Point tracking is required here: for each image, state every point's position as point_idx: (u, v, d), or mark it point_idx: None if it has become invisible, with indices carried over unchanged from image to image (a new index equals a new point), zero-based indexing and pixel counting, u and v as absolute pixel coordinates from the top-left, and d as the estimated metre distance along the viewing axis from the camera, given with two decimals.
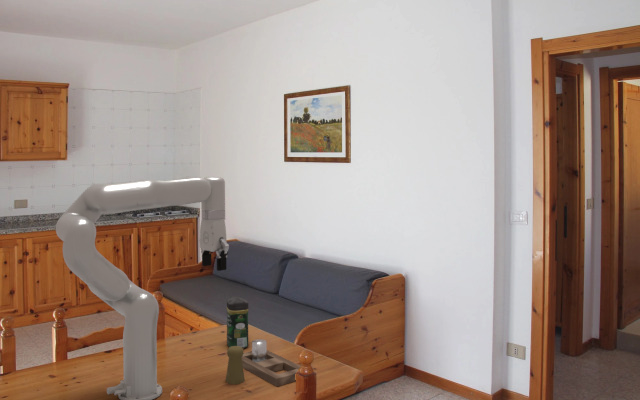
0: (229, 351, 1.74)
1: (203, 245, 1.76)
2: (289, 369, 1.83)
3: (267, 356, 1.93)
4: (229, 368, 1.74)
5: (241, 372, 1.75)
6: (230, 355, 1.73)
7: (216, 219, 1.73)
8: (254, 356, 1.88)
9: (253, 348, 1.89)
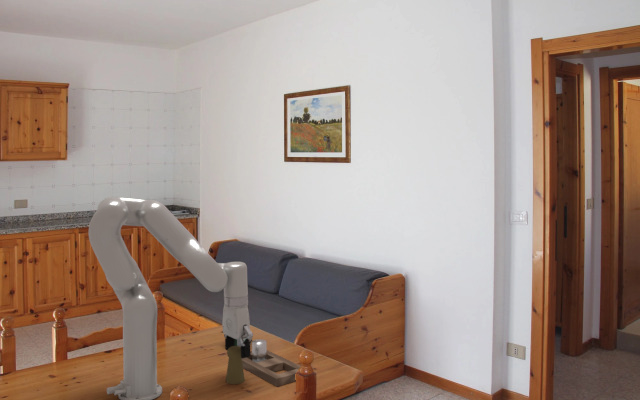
0: (229, 351, 1.74)
1: (226, 331, 1.75)
2: (289, 369, 1.83)
3: (267, 356, 1.93)
4: (229, 368, 1.74)
5: (241, 372, 1.75)
6: (230, 355, 1.73)
7: (239, 306, 1.71)
8: (254, 356, 1.88)
9: (253, 348, 1.89)
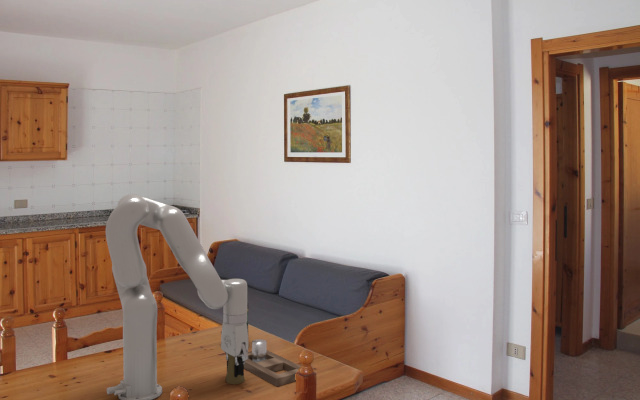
0: None
1: (224, 348, 1.75)
2: (289, 369, 1.83)
3: (267, 356, 1.93)
4: (229, 368, 1.74)
5: None
6: (230, 355, 1.73)
7: (238, 324, 1.71)
8: (254, 356, 1.88)
9: (253, 348, 1.89)
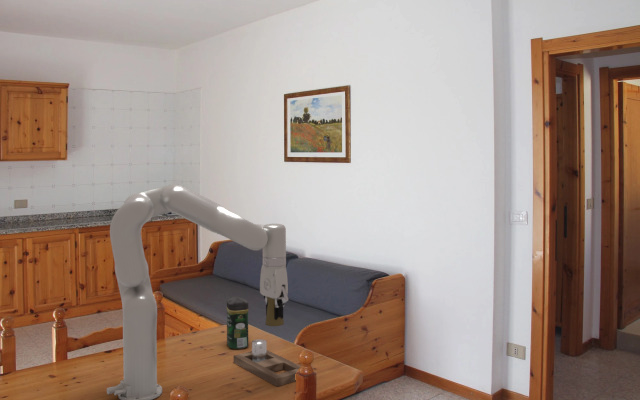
0: None
1: (264, 292, 1.78)
2: (289, 369, 1.83)
3: (267, 356, 1.93)
4: (269, 311, 1.77)
5: None
6: (270, 298, 1.76)
7: (278, 266, 1.74)
8: (254, 356, 1.88)
9: (253, 348, 1.89)
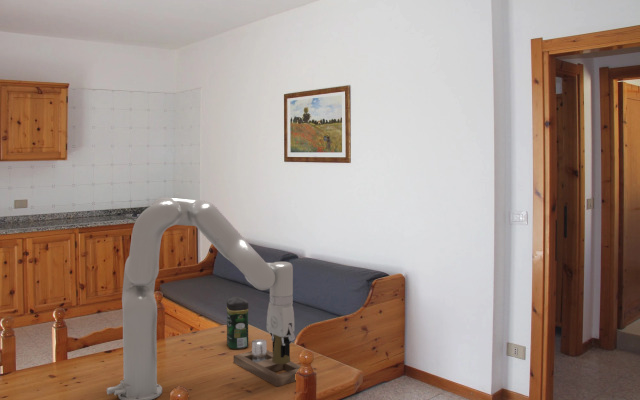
0: None
1: (270, 329, 1.79)
2: (289, 369, 1.83)
3: (267, 356, 1.93)
4: (276, 348, 1.78)
5: None
6: (277, 336, 1.78)
7: (285, 305, 1.76)
8: (254, 356, 1.88)
9: (253, 348, 1.89)
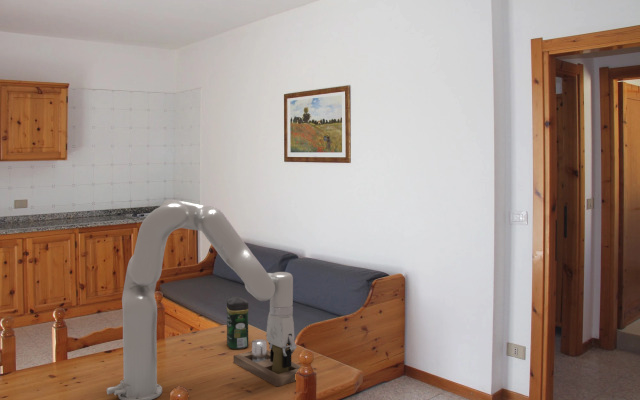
0: (274, 347, 1.78)
1: (270, 339, 1.80)
2: (289, 369, 1.83)
3: (267, 356, 1.93)
4: (274, 363, 1.79)
5: None
6: (276, 351, 1.78)
7: (285, 316, 1.76)
8: (254, 356, 1.88)
9: (253, 348, 1.89)
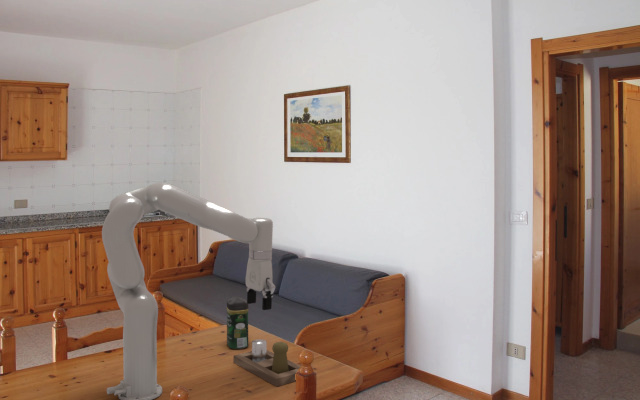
0: (275, 347, 1.78)
1: (249, 284, 1.81)
2: (289, 369, 1.83)
3: (267, 356, 1.93)
4: (274, 363, 1.79)
5: (286, 367, 1.79)
6: (276, 351, 1.78)
7: (263, 259, 1.78)
8: (254, 356, 1.88)
9: (253, 348, 1.89)
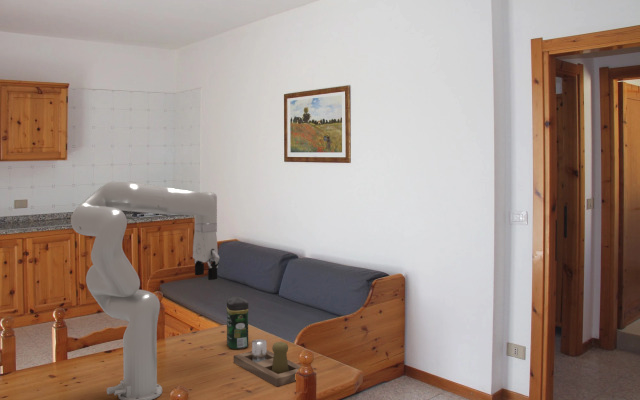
0: (274, 347, 1.78)
1: (195, 256, 1.89)
2: (289, 369, 1.83)
3: (267, 356, 1.93)
4: (274, 363, 1.79)
5: (286, 367, 1.79)
6: (276, 351, 1.78)
7: (208, 232, 1.85)
8: (254, 356, 1.88)
9: (253, 348, 1.89)
